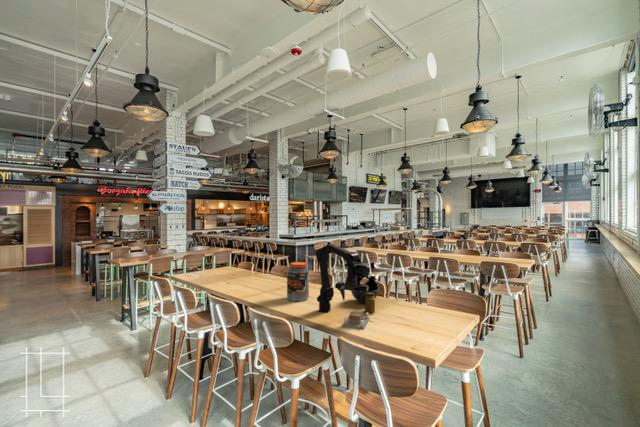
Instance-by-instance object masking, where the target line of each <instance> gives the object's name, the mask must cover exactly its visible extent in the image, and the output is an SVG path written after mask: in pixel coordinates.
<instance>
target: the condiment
mask: <svg viewBox="0 0 640 427" xmlns="http://www.w3.org/2000/svg"><path fill="white" fill-rule="evenodd" d="M375 304H376V298H374V293H371V292H368V293H366V297H365V303H364V310H362V311H363V315H366V313H369V316H370V315H375V314H378V312H377V311H375V310H376V305H375Z"/></svg>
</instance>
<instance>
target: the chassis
mask: <svg viewBox="0 0 640 427" xmlns="http://www.w3.org/2000/svg"><path fill="white" fill-rule="evenodd" d="M352 311H353V310H349V314H350V313H351V312H352ZM370 320H371V318H370V315H369V313H366V314H365V316H363V320H361V323H360V325H359V324H351V323H349V316H347V317H344V318H343V322H342V327H345V326H346V328H352V329H358V330H359V329H360V330H365V328H366V327H367V325H368V323H369V322H370Z"/></svg>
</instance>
